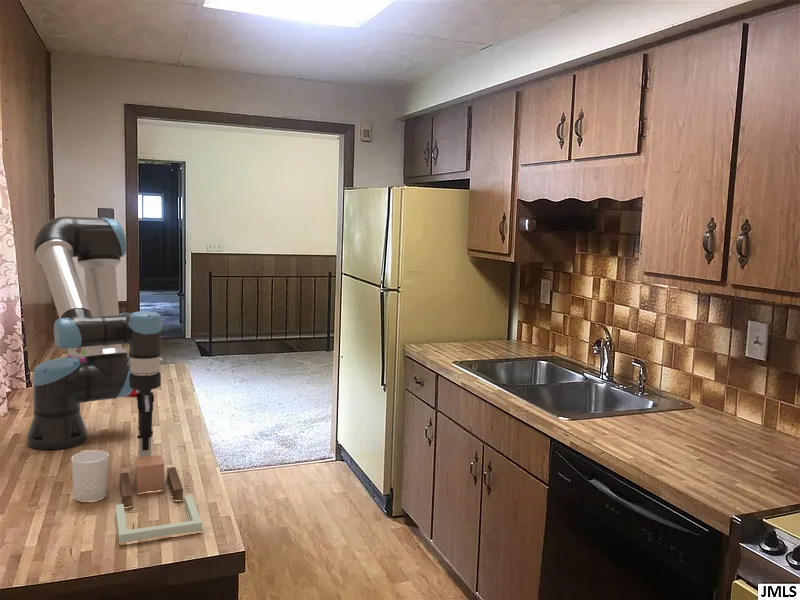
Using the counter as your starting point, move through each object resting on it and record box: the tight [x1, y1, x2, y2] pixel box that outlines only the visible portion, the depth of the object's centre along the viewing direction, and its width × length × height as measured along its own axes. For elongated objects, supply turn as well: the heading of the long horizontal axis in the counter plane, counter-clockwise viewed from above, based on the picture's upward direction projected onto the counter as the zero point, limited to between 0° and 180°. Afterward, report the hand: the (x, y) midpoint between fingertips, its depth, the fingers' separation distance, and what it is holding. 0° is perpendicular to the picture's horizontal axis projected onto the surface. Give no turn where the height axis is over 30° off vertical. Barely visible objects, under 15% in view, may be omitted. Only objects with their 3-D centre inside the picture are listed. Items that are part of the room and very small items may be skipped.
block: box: [134, 454, 165, 494], centre depth 159 cm, size 6×6×7 cm
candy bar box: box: [67, 346, 90, 362], centre depth 261 cm, size 11×5×16 cm, turn 73°
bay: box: [115, 494, 203, 544], centre depth 142 cm, size 16×15×2 cm
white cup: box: [70, 449, 110, 502], centre depth 152 cm, size 8×8×10 cm
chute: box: [119, 466, 184, 507], centre depth 157 cm, size 13×14×3 cm
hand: (145, 460), depth 171 cm, fingers closed
